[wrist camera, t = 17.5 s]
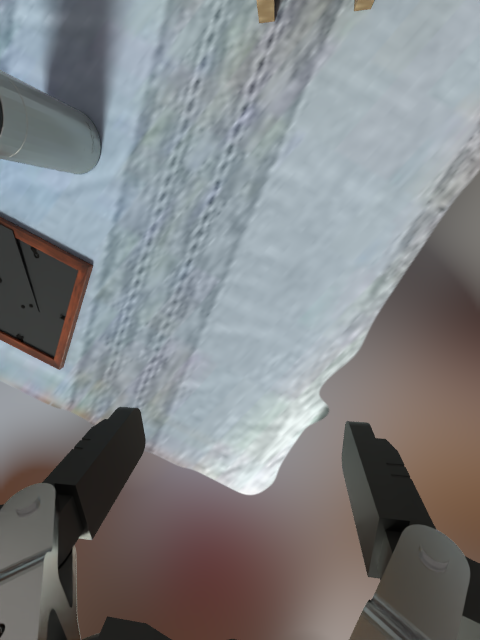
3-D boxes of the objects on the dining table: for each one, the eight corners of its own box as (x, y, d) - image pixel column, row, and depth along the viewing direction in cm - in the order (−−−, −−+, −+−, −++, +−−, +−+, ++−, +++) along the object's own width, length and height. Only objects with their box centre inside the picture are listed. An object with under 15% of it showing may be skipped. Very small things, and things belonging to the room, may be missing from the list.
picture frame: (-3, 213, 53) (-19, 323, 62) (-13, 213, 51) (-28, 326, 60) (95, 265, 54) (65, 365, 63) (88, 266, 52) (58, 370, 61)
